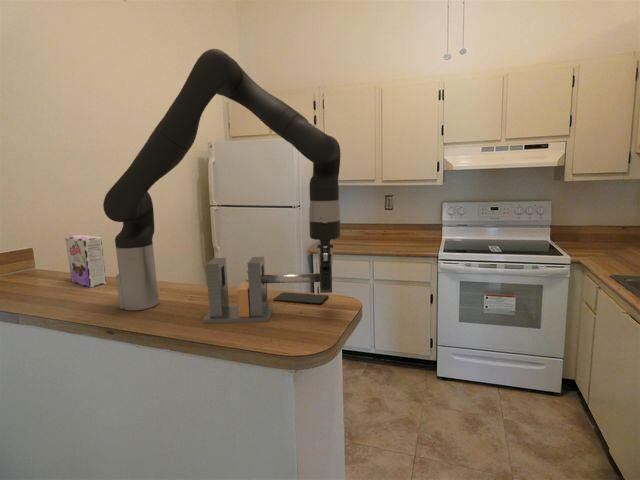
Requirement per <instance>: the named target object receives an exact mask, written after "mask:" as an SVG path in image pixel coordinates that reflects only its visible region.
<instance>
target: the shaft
mask: <svg viewBox="0 0 640 480" xmlns="http://www.w3.org/2000/svg"><path fill="white" fill-rule="evenodd" d="M318 265H319V264H318ZM332 266H333V264H332V265H331V275H330V286H331V288H330V289H328V290H323V289H322V284H321V273H320V271H321V266H320V265H319V267H318V268H319V272H318V273H315V272H313V273H283V274H281V273H279V274H265V275H262V284H265V283H267V284H294V283H295V284H298V283H299V284H300V283H301V284H302V283H319V293H320V294H325V293H328V294H331V293H333V275H332V274H333V271H332V269H333V268H332ZM323 269H329V267H323Z"/></svg>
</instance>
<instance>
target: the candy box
mask: <svg viewBox="0 0 640 480" xmlns="http://www.w3.org/2000/svg"><path fill="white" fill-rule="evenodd" d="M102 240H103V239H102V237H101V236H93V235H87V234H86V235H85V234H74V235H68V236H65V244H66V245H65V246H66V252H67V256H68V257H67V258H68V266H69V272H70V273H69V274H70V277H71V278H70V279H71V282H72V283H73V284H77V285H80V286H83V287H87V288H94V287H99V286H102V285H107V275H106V267H105V258H104V250H103V242H102Z"/></svg>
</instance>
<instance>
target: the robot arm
mask: <svg viewBox="0 0 640 480" xmlns="http://www.w3.org/2000/svg"><path fill="white" fill-rule="evenodd" d="M216 95H219V96H222V97H225V98H227V99H229V100H232V101H233V102H235V103H238V104H240V106H243V107H244V108H245V109H247V110H248V111H249V112H251V113H252V114H253V115H254V116H255V117H256V118H258V119H259V120H260V121H261V122H262V123H263V124H264V125H265V126H266V127H268V128H269V129H270V130H271V131H272V132H273V133H275V134H276V135H278V136H279V137H281V138H282V139H283V140H285V141H286V142H287V143H289V144H291V145H292V146H293V147H294V148H295V149H296V150H297V151H298V152H299V153H300V154H301V155H302V156H304V158H305V159H307V160H309V161H311V162H312V168H313V169H312V176H311V178H310V180H309V207H308V208H309V209H308V218H309V220H308V221H309V222H308V223H309V238H310V239H312V240H315V241H317V240H318V241H319V242H320V244H317V247H316V250H317V251H316V252H317V256H318V259H317V260H318V265H320V266H321V271H320V270H319V273H321V284H322V289H323V290H328V289H330V288H331V286H330V275H331V265H332V266H333V254H334V244H331V240H338V239H339V238H341V208H340V207H341V206H340V200H339V198H340V195H339V194H340V193H339V190H340V188H339V175H340V166H341V147H340V143H339V141H338V140H337V139H336V138H335V137H334V136H331V135H328V134H327V133H325V132H323V131H322V130H320V128H318V127H316V126H315V125H313V124H311V122H309V121H308V119H307V118H306V117H305V116H304V115H302V114H301V113H300V112H298V111H297V110H296V109H294V108H293V107H291V106H290V105H288V104H287V103H285V102H284V101H283V100H281V99H279V98H278V97H276V96H275V95H273V94H271V93H269V92H268V91H267V90H265V89H264V88H263V87H261V86H260V85H259V84H257V82H255V80H254V79H252V78H251V77H250V76H249V74H248V73H246V72H245V70H244V69H243V68H242V67H241V66H240V64H239V63H238V62H237V61H236V60H235V59H234V58H232V57H231V56H230V55H228V53H226V52H225V51H223V50H221V49H218V48H210V49H207V50H206V51H204V52H202V54H201V55H200V56H199V57H198V58H197V60H196V61H195V63H194V65H193V67H192V69H191V71H190V73H189V75H188V76H187V78H186V81H185V82H184V84H183V86H182V88H181V89H180V91H179V92H178V94H177V95H176V98H174V100H173V102H172V104H171V105H170V106H169V108H168V110H167V111H166V112H165V114H164V116H163V117H162V119H161V120H160V121H159V123H158V124H157V125H156V126H155V128H154V129H153V131H152V132H151V134H150V135H149V137H148V139H147V140H146V142H145V143H144V145H143V146H142V148H141V149H140V151H139V152H138V153H137V155H136V156H135V158H134V159H133V160H132V163H130V166H129V167H127V169H126V170H125V172H123V174H122V175H121V176H120V177H119V178H118V180H117V181H116V182H115V183H114V184H113V185H112V187H110V189H108V191H107V193H106V195H104V199H103V204H102V206H103V207H102V208H103V211H104V214H105V215H106V217H107V218H108V219H109V220H111V221H113V222H116V223H122V227H121V230H120V232H119V233H118V234H117V235H116V236H115V238H114V245H115V253H116V261H117V267H118V268H117V269H118V274H116V276H115V280H116V281H115V282H116V287H117V296H118V297H117V298H118V305H119V309H120V310H125V311H140V310H147V309H151V308H153V307H155V306H158V305H159V304H160V298H159V297H160V296H159V289H158V282H157V281H158V280H157V271H156V262H155V261H156V260H155V253H154V252H155V251H154V244H153V243H154V242H153V237H154V234H155V217H154V216H155V213H154V203H153V199H152V197H151V195H150V193H149V192H148V191H149V190H150V189H151V188H152V187H153V186H154V185H155V183H157V182H158V181H160V179H161V178H163V177H164V176H166V175H167V174H169V173H170V172H171V171H172V170H173V169H174V168H176V167H177V166H178V165H179V164H180V163H181V161H183V159H184V158H185V156H186V155H187V154H188V152H189V151H190V149H191V148H192V146H193V144H194V142H195V140H196V138H197V135H198V130H199V126H200V121H201V118H202V115H203V113H204V111H205V109H206V108H207V106H208V105H210V102H211V101H212V100H213V98H214V97H215V96H216ZM323 267H329V269H323Z"/></svg>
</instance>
